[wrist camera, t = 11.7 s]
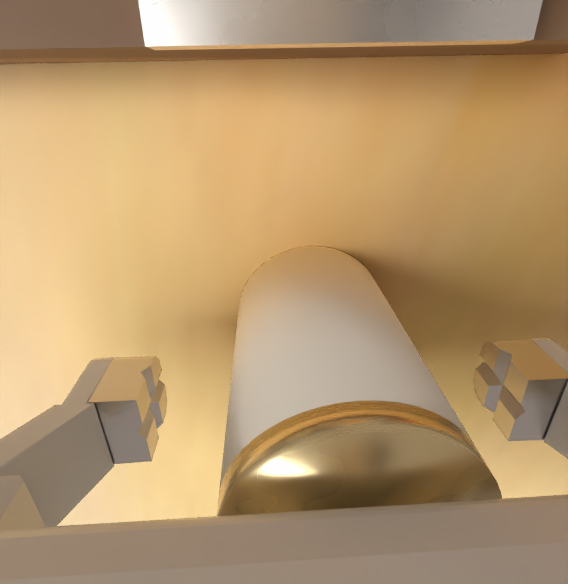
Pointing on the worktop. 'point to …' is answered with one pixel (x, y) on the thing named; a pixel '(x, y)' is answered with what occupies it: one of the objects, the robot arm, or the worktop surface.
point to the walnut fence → (275, 29)
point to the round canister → (335, 399)
